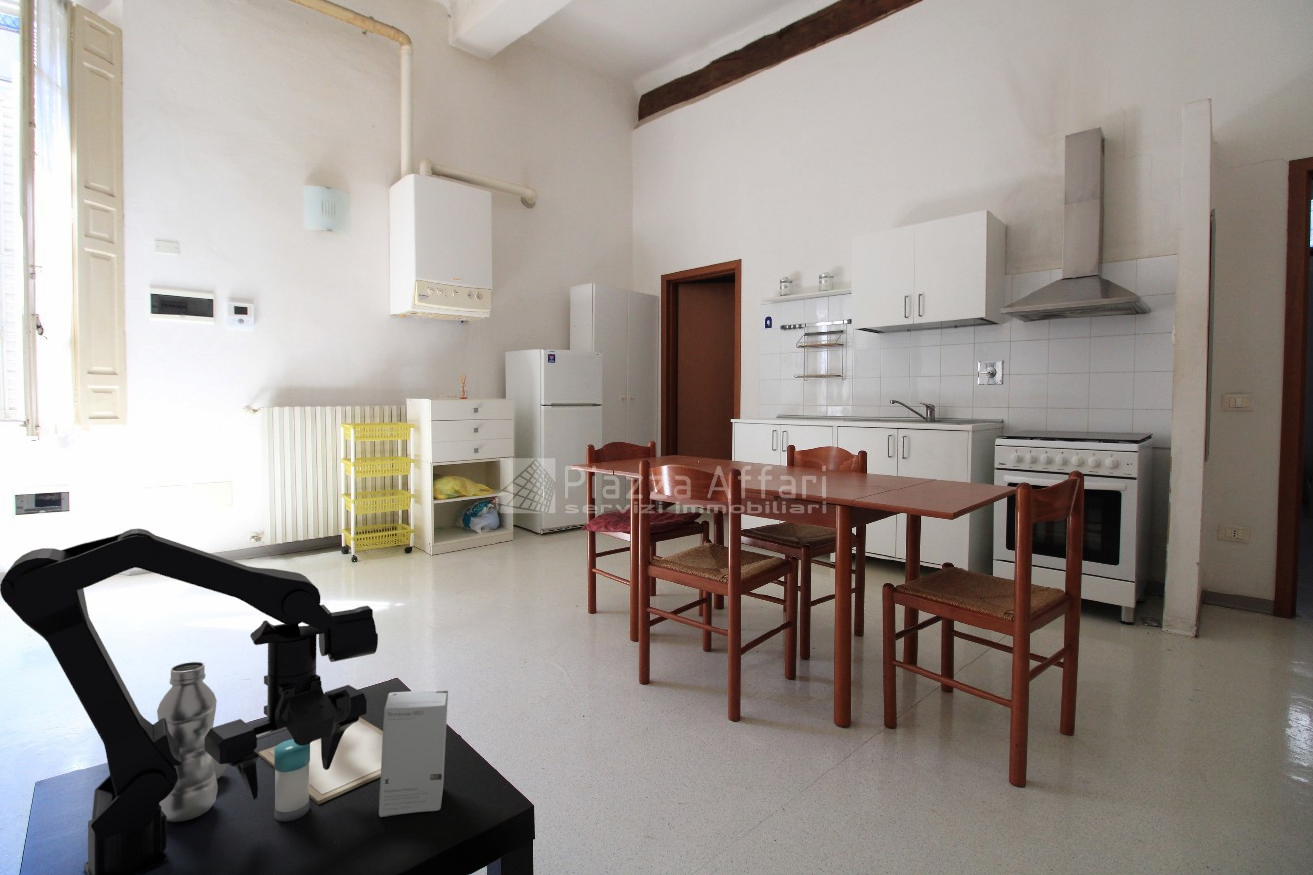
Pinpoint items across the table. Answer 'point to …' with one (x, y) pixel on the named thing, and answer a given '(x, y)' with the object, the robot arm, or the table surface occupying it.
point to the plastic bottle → (190, 741)
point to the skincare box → (413, 752)
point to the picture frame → (343, 762)
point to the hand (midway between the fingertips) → (291, 782)
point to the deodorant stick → (291, 780)
